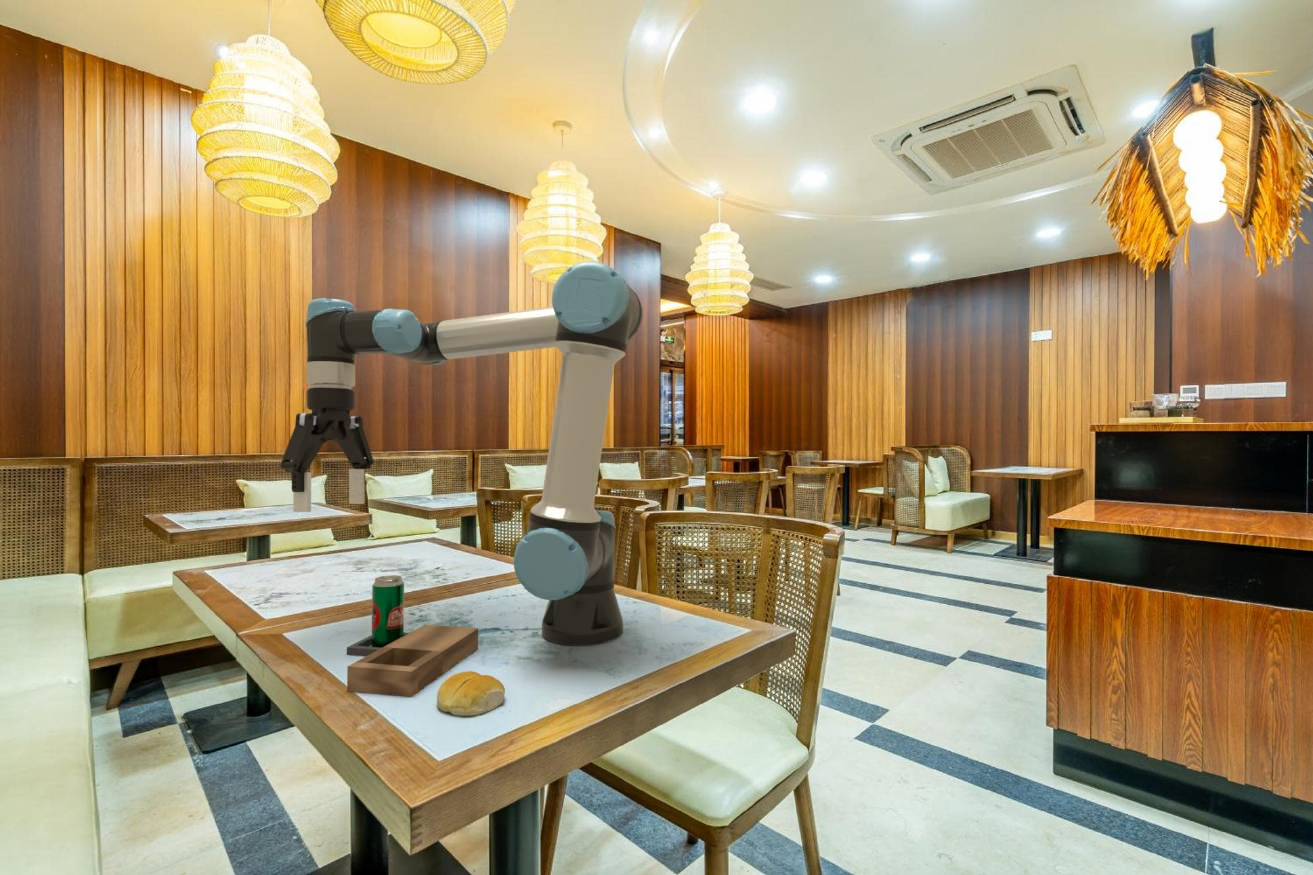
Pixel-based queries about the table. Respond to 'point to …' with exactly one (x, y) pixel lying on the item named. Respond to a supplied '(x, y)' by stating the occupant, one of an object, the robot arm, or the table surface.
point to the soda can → (387, 610)
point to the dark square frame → (363, 647)
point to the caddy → (412, 660)
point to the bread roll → (470, 694)
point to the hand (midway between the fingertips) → (331, 507)
